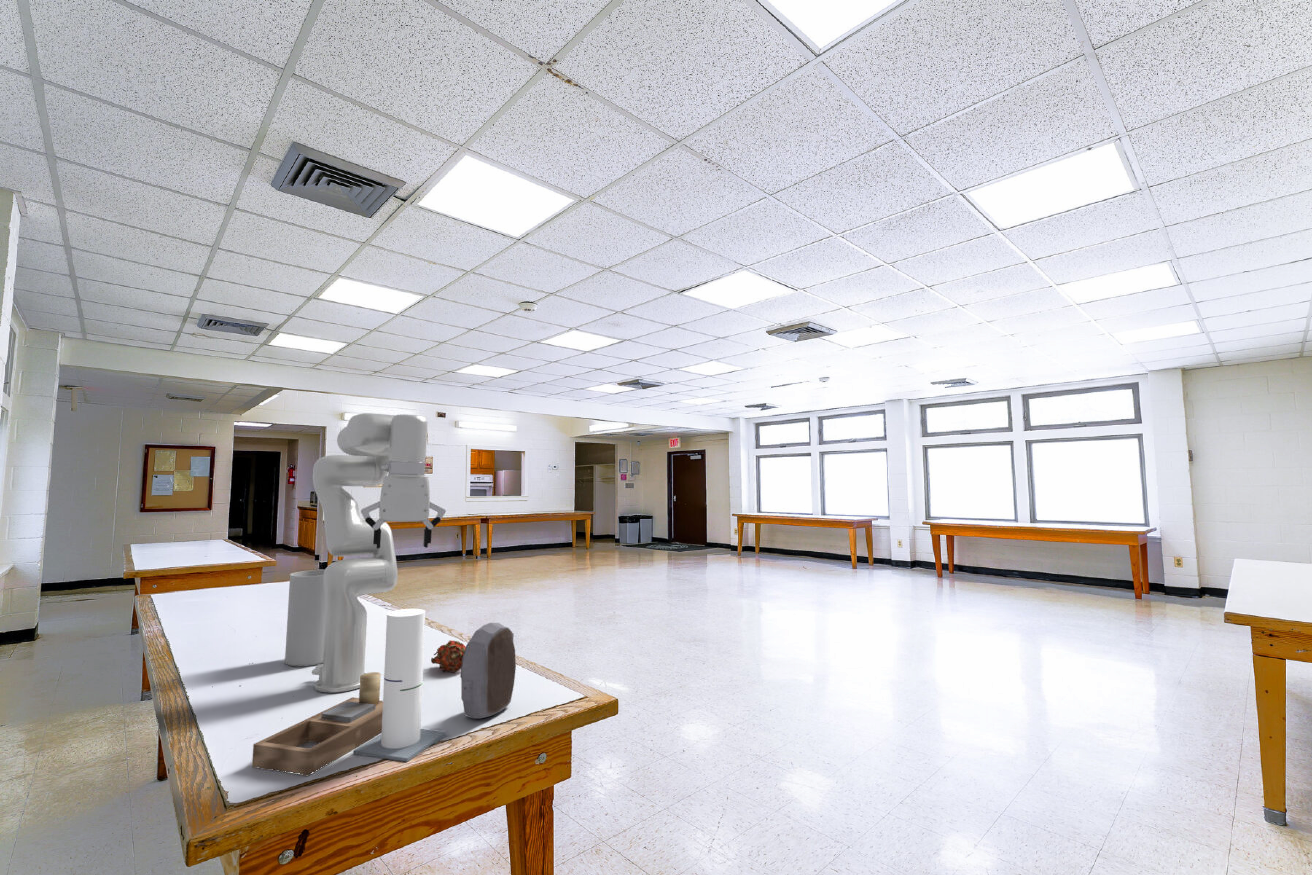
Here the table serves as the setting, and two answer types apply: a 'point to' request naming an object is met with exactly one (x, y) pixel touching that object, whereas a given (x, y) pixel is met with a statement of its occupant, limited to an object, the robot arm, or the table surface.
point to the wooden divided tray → (325, 733)
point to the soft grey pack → (488, 671)
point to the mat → (400, 754)
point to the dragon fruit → (449, 656)
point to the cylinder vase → (306, 619)
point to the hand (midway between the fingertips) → (402, 547)
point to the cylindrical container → (403, 678)
